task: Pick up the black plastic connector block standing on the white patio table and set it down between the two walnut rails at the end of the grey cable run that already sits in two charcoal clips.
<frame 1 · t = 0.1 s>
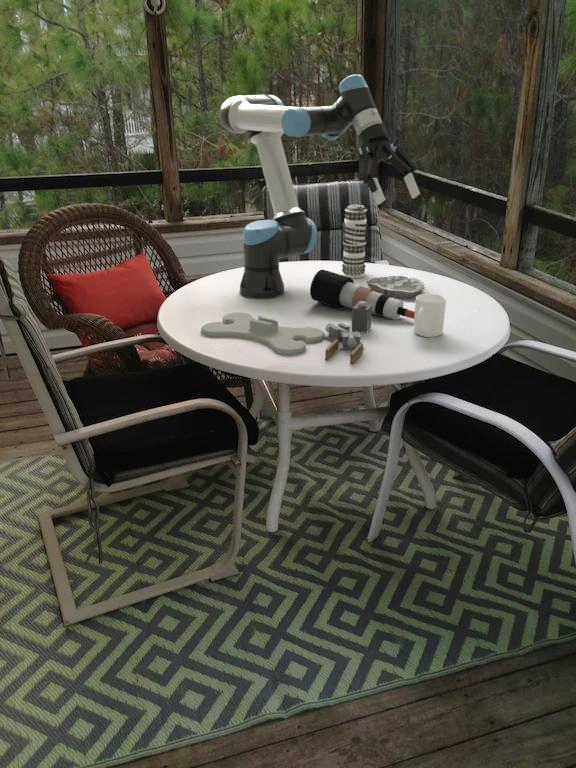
hand: (399, 199, 181), 36 cm above the table, tool tilted 35°, fingers open, 13 cm apart
holder: (262, 336, 188), on the table
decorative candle: (353, 275, 242), on the table
connector: (361, 329, 191), on the table
cable: (363, 313, 205), on the table
mug: (425, 335, 187), on the table
brain slice: (397, 292, 224), on the table
clip1: (339, 338, 185), on the table
end holder: (344, 356, 173), on the table
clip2: (351, 346, 179), on the table
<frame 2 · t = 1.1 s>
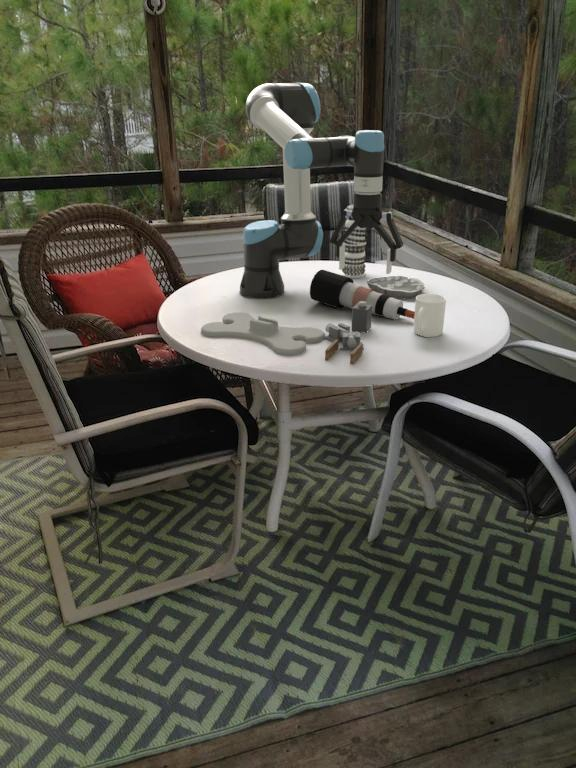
hand: (365, 270, 184), 17 cm above the table, tool pointing down, fingers open, 13 cm apart
nothing on the table moved.
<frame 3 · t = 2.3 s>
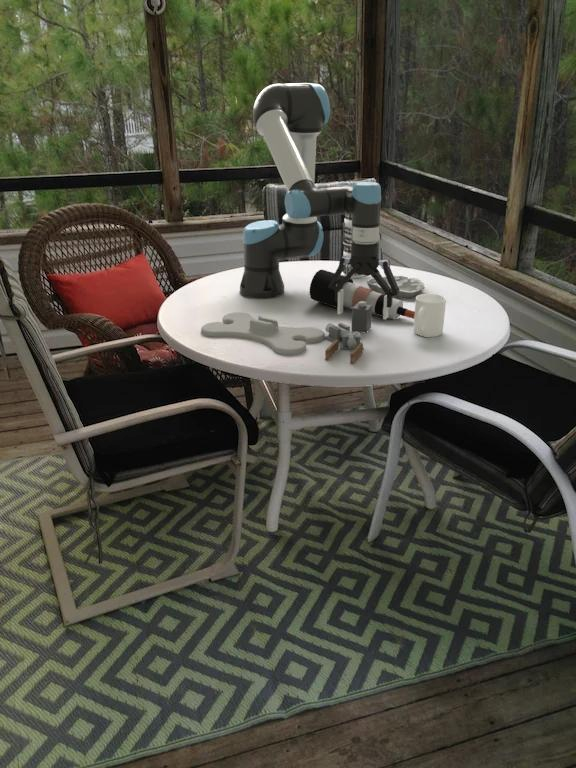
hand: (362, 315, 189), 4 cm above the table, tool pointing down, fingers open, 13 cm apart
nothing on the table moved.
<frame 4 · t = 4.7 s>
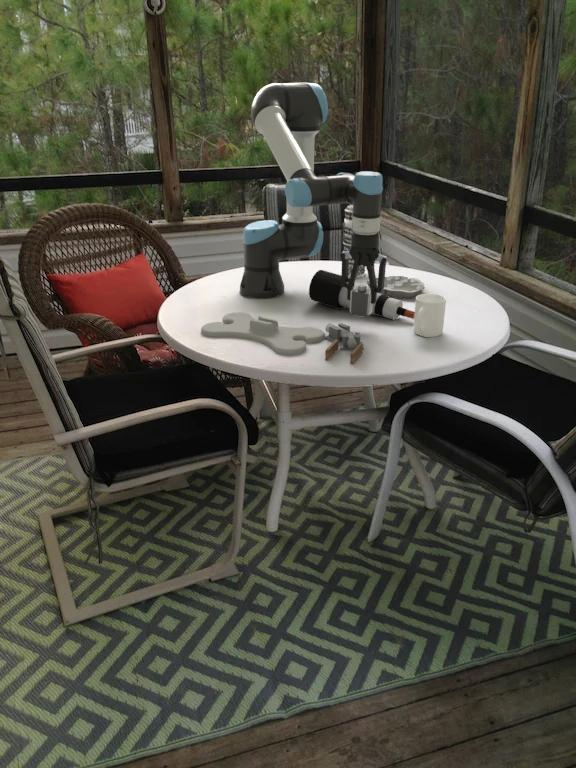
hand: (360, 312, 189), 5 cm above the table, tool pointing down, fingers closed on connector, 4 cm apart
connector: (360, 313, 190), point 5 cm above the table, touching gripper
everything else where it was.
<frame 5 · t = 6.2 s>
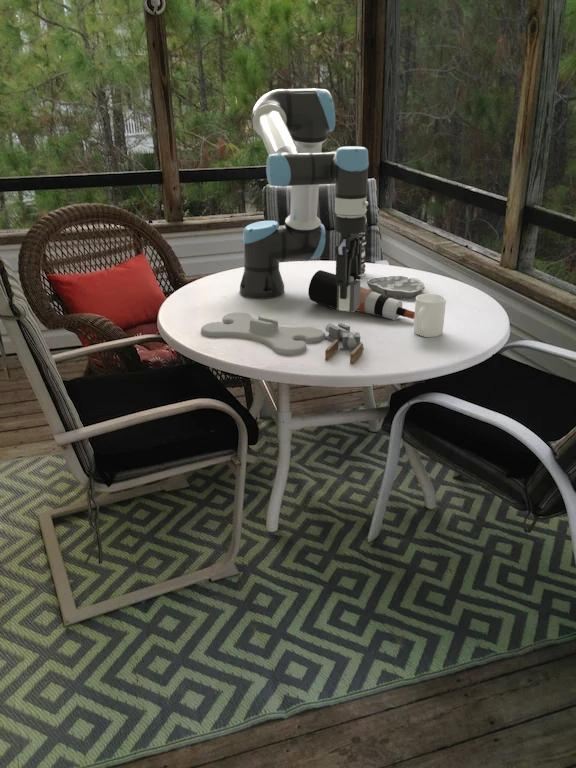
hand: (347, 307, 168), 13 cm above the table, tool pointing down, fingers closed on connector, 4 cm apart
connector: (348, 308, 168), point 13 cm above the table, touching gripper
everything else where it was.
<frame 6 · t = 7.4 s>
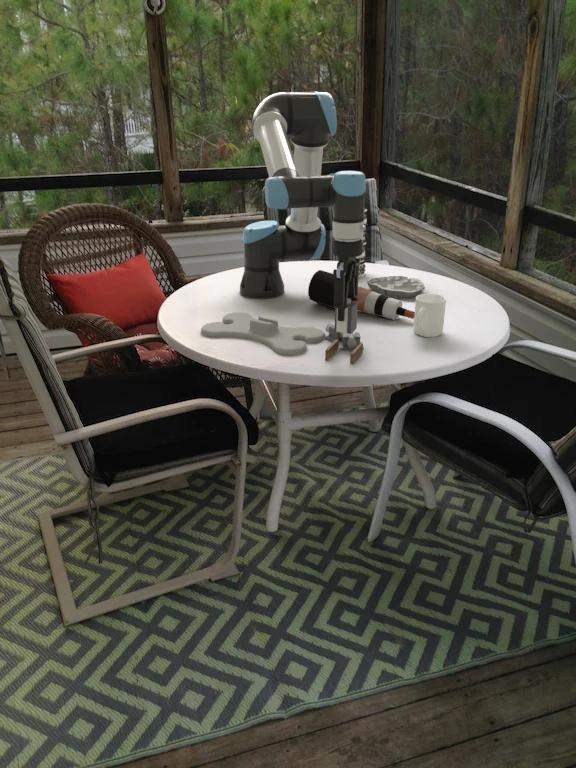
hand: (345, 328, 169), 8 cm above the table, tool pointing down, fingers closed on connector, 4 cm apart
connector: (345, 329, 170), point 8 cm above the table, touching gripper
everything else where it was.
when the fingers open (1 cm above the table, at t = 9.3 s): connector stays where it is, on the table.
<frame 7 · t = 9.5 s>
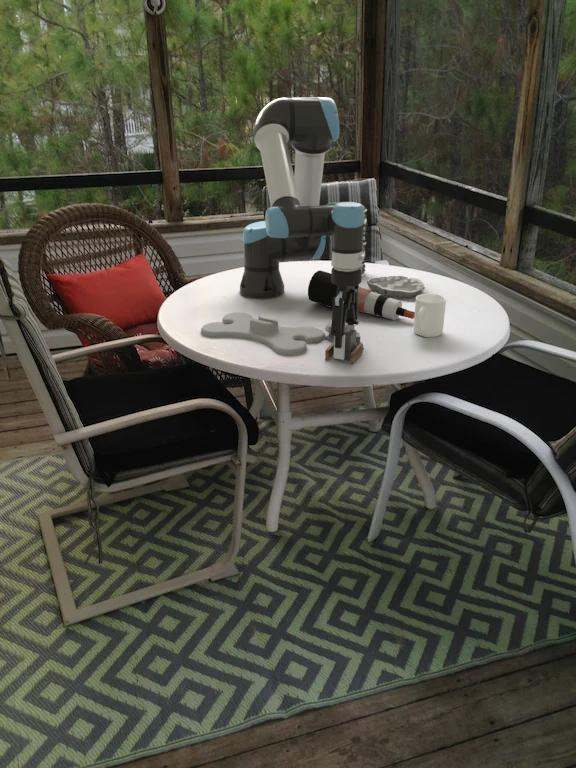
hand: (343, 353, 172), 1 cm above the table, tool pointing down, fingers open, 7 cm apart
connector: (344, 356, 173), on the table
everything else where it was.
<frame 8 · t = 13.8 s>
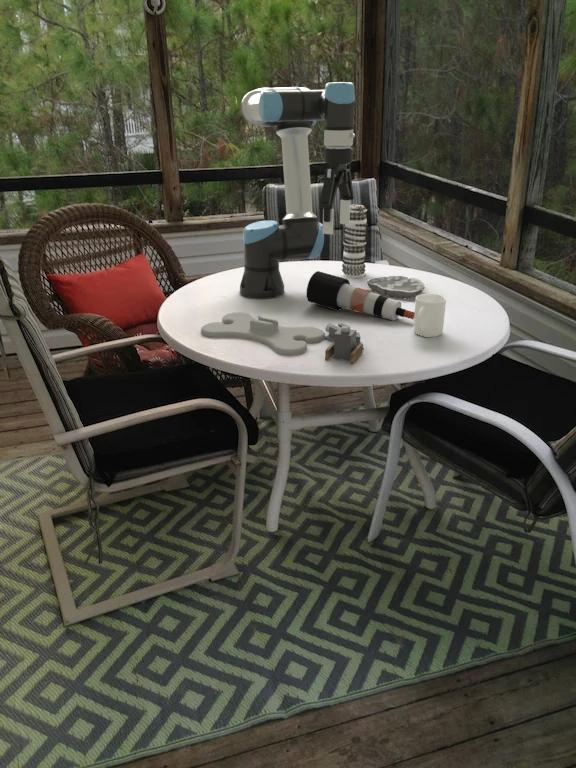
hand: (336, 228, 181), 29 cm above the table, tool pointing down, fingers open, 13 cm apart
at the end: connector 0.1 cm off-centre on the end holder, point 0.0 cm above the end holder's base; connector tilted 0°; the gripper is holding nothing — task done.
